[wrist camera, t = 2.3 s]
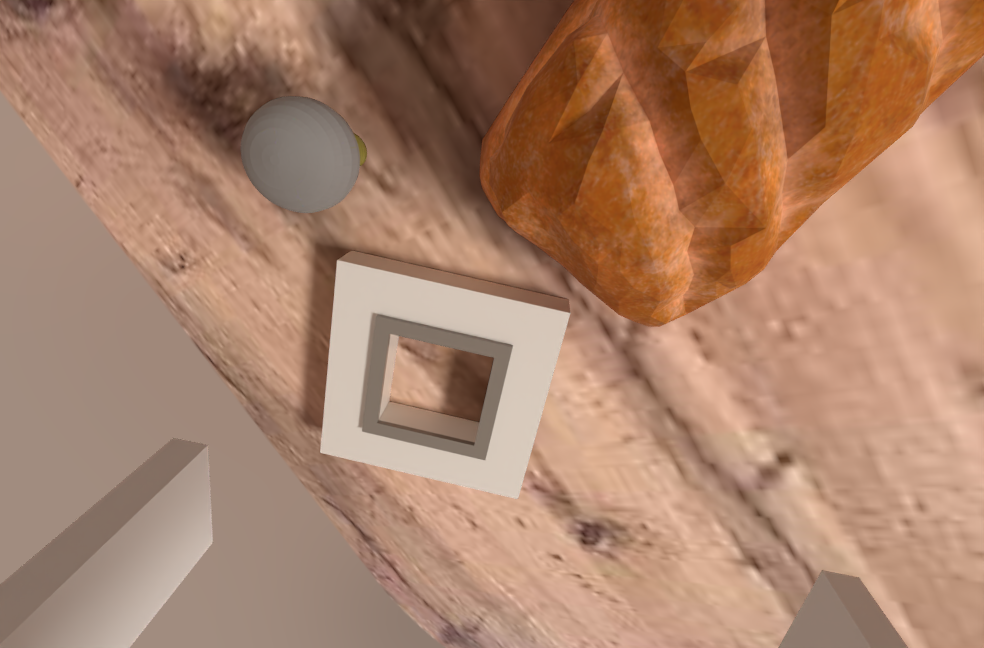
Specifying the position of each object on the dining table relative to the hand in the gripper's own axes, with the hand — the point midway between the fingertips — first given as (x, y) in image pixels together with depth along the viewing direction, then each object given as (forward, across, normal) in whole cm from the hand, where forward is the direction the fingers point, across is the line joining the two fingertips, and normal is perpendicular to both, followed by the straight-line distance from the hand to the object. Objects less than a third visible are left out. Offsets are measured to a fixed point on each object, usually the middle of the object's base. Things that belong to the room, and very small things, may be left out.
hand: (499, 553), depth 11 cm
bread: (+24, +7, +14) cm, 29 cm away
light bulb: (+25, -12, +5) cm, 28 cm away
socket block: (+24, -5, -9) cm, 26 cm away
